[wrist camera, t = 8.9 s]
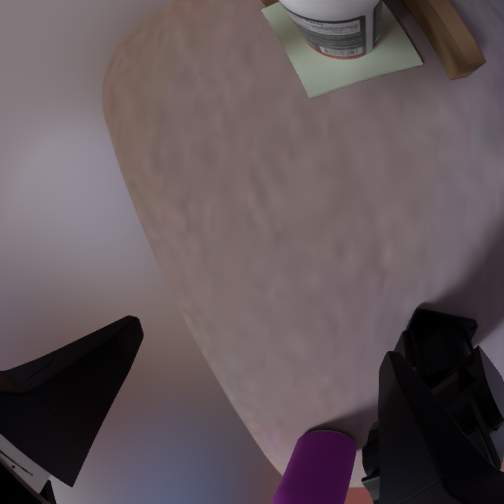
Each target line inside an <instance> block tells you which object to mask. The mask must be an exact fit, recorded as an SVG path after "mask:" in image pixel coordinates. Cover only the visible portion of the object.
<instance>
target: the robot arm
mask: <svg viewBox="0 0 504 504" xmlns="http://www.w3.org/2000/svg"><path fill="white" fill-rule="evenodd" d="M418 314H422V315H421V316H420V317H417V315H418ZM472 325H474V326H473V327H471V326H472ZM477 327H478V324H477V322H476V321H475V320H472V319H467V318H463V317H458V316H453V315H448V314H443V313H439V312H434V311H429V310H425V309H416V310H415V311H414V313H413V315H412V318H411V320H410V323H409V325H408V327H407V330H405V331H404V332H402V334H401V336H400V338H399V341H398V343H397V345H396V347H395V349H394V351H388V352H387V353H386V355H385V357H384V359H383V362H382V364H381V366H380V370H379V399H378V421H376V422H375V423H374V424H373V426H372V428H371V429H370V431H369V436H368V440H367V443H366V445H364V446H363V449H362V462H363V468H364V470H365V473H366V475H367V477H364V478H362V480H361V481H362V483H363V485H364V486H365V487H366V488H367V490H368V491H369V493H370V495H371V498H372V500H373V503H374V504H504V472H502V471H500V469H501V466H502V462H503V458H504V381H503V379H502V376H501V375H500V373H499V372H498V370H497V369H496V368H495V366H494V365H493V363H492V362H491V361H490V359H489V358H488V357H487V355H486V354H485V353H484V351H483V350H482V349H481V347H480V346H479V345H478V346H477V347H476V348H475V349H473V346H472V344H471V339H472V337H473V335H474V333H475V332H476V330H477ZM143 335H144V334H143V330H142V327H141V324H140V321H139V319H138V318H137V317H134V316H130V315H129V316H126V317H124V318H122V319H120V320H118V321H115V322H113V323H111V324H109V325H107V326H105V327H103V328H101V329H99V330H97V331H95V332H93V333H91V334H89V335H86V336H84V337H82V338H80V339H78V340H76V341H74V342H72V343H70V344H68V345H66V346H64V347H62V348H60V349H58V350H56V351H53V352H51V353H49V354H47V355H45V356H42V357H40V358H38V359H36V360H33V361H30V362H28V363H25V364H22V365H20V366H17V367H14V368H12V369H9V370H5V371H0V504H56V500H55V497H54V493H53V489H52V485H51V481H50V480H49V479H48V478H49V477H50V475H53V476H54V477H56V478H58V479H59V480H60V481H62V482H64V483H65V484H67V485H68V486H70V487H73V485H74V483H75V481H76V479H77V476H78V474H79V472H80V470H81V468H82V465H83V463H84V461H85V459H86V457H87V454H88V452H89V449H90V448H91V446H92V444H93V441H94V439H95V437H96V435H97V433H98V431H99V429H100V427H101V425H102V423H103V421H104V419H105V417H106V415H107V413H108V411H109V409H110V407H111V405H112V403H113V401H114V399H115V397H116V396H117V394H118V392H119V390H120V388H121V386H122V384H123V382H124V380H125V378H126V377H127V375H128V373H129V371H130V369H131V366H132V364H133V362H134V359H135V357H136V354H137V352H138V350H139V347H140V345H141V342H142V340H143Z"/></svg>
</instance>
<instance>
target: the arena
mask: <svg viewBox="0 0 504 504" xmlns="http://www.w3.org/2000/svg"><path fill="white" fill-rule="evenodd" d="M261 1H262V2H263V3H264V5H265V6H266V8H264V9H262V12H263V14H264V15H265V17H266V18H267V20H268V22H269V23H270V25H271V27H272V28H273V30H274V32H275V33H276V35H277V37H278V39H279V40H280V42H281V44H282V46H283V47H284V49H285V51H286V53H287V55H288V57H289V58H290V60H291V62H292V64H293V66H294V68H295V70H296V72H297V74H298V76H299V78H300V80H301V82H302V84H303V86H304V88H305V90H306V92H307V94H308V96H309V98H310V99H312V98H315V97H317V96H320V95H323V94H326V93H328V92H331V91H334V90H337V89H340V88H343V87H346V86H349V85H352V84H355V83H358V82H361V81H364V80H368V79H371V78H374V77H378V76H381V75H385V74H389V73H392V72H396V71H400V70H404V69H408V68H413V67H417V66H422V65H423V63H422V61H421V59H420V57H419V55H418V54H417V52H416V50H415V48H414V47H413V45H412V43H411V42H410V40H409V38H408V37H407V35H406V33H405V32H404V30H403V29H402V27H401V26H400V24H399V23H398V21H397V20H396V18H395V17H394V15H393V14H392V13H391V11H390V10H389V8H388V7H387V6H386V4H385V3H384V2H383V0H382V20H381V34H380V39H379V42H378V44H377V45H376V47H375V48H374V49H373V50H372V51H371V52H370V53H369V54H367V55H365V56H363V57H361V58H358V59H354V60H336V59H331V58H328V57H326V56H323V55H321V54H319V53H318V52H316V51H315V50H313V49H312V48H311V47H310V46H309V45H308V44H307V43H306V41H305V40H304V38H303V37H302V35H301V33H300V32H299V30H298V29H297V27H296V25H295V24H294V22H293V21H292V19H291V18H290V16H289V15H288V13H287V12H286V10H285V9H284V8H283V6H282V5H281V3H280V2H279V0H261ZM402 1H403V2H404V4H405V5H406V7H407V8H408V9H409V11H410V12H411V13H412V15H413V16H414V18H415V19H416V21H417V22H418V24H419V25H420V27H421V28H422V30H423V31H424V33H425V35H426V36H427V38H428V39H429V41H430V43H431V44H432V46H433V48H434V50H435V51H436V53H437V55H438V57H439V59H440V61H441V62H442V64H443V66H444V68H445V70H446V72H447V74H448V76H449V78H450V80H453V79H459V78H464V77H467V76H469V75H470V74H471V73H473V72H474V71H475V70H477V69H478V68H479V67H480V66H482V65H483V64H484V63H486V60H485V58H484V56H483V54H482V53H481V51H480V49H479V47H478V45H477V43H476V42H475V40H474V38H473V37H472V35H471V33H470V32H469V30H468V28H467V27H466V25H465V24H464V22H463V21H462V19H461V18H460V16H459V15H458V13H457V12H456V10H455V9H454V8H453V6H452V5H451V3H450V2H449V1H448V0H402Z"/></svg>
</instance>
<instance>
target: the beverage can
mask: <svg viewBox="0 0 504 504" xmlns="http://www.w3.org/2000/svg"><path fill="white" fill-rule="evenodd" d="M355 456H356V444H355V442H354V441H353V440H352V439H351V438H350V437H348V436H347V435H345V434H344V433H341V432H338V431H334V430H315V431H312V432H310V433H307V434H304V435H303V436H301V437H300V438H299V439H298V441H297V443H296V446H295V448H294V451H293V453H292V456H291V458H290V461H289V463H288V466H287V468H286V471H285V473H284V475H283V478H282V480H281V483H280V485H279V487H278V489H277V491H276V494H275V496H274V498H273V502H272V504H344V502H345V498H346V495H347V491H348V487H349V483H350V479H351V475H352V470H353V466H354V461H355Z"/></svg>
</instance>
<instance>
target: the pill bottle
mask: <svg viewBox="0 0 504 504" xmlns="http://www.w3.org/2000/svg"><path fill="white" fill-rule="evenodd" d="M279 2H280V3H281V5H282V6H283V8H284V9H285V10H286V12H287V13H288V15H289V16H290V18H291V19H292V21H293V22H294V24H295V25H296V27H297V29H298V30H299V32H300V33H301V35H302V37H303V38H304V40H305V41H306V43H307V44H308V45H309V46H310V47H311V48H312V49H313V50H315V51H316V52H318V53H319V54H321V55H323V56H326V57H328V58H331V59H336V60H354V59H358V58H361V57H363V56H365V55H367V54H369V53H370V52H371V51H372V50H373V49H374V48H375V47H376V45H377V44H378V42H379V39H380V34H381V20H382V0H279Z"/></svg>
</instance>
